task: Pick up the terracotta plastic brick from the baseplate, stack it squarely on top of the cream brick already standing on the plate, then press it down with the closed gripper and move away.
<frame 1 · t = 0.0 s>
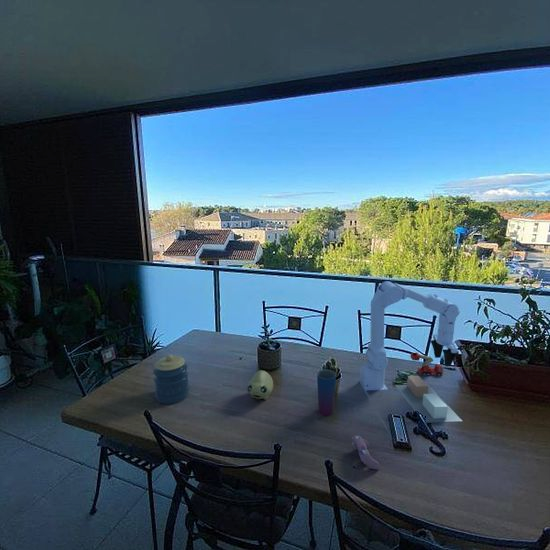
hand: (442, 361, 135), 10 cm above the table, tool pointing down, fingers open, 7 cm apart
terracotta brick: (416, 391, 130), point 1 cm above the table, touching baseplate
cup: (325, 412, 119), on the table
canister: (172, 395, 130), on the table
toy fire truck: (425, 374, 145), on the table
pink curved figurine: (364, 459, 97), on the table
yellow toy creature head: (260, 398, 128), on the table
baseplate: (425, 402, 124), on the table
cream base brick: (433, 411, 118), point 1 cm above the table, touching baseplate
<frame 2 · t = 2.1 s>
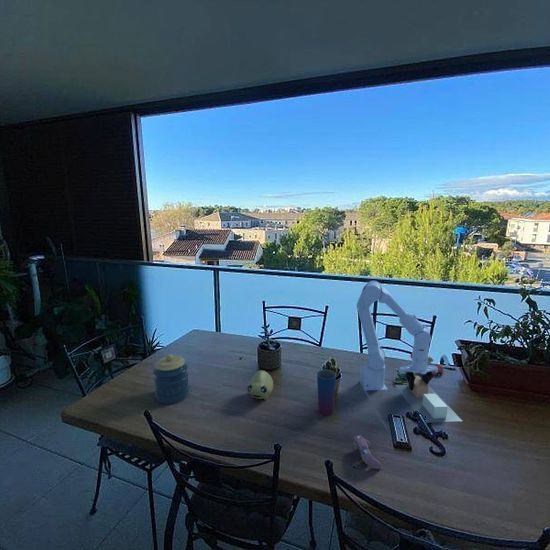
hand: (417, 388, 130), 2 cm above the table, tool pointing down, fingers closed on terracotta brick, 4 cm apart
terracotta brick: (416, 391, 130), point 1 cm above the table, touching baseplate, gripper
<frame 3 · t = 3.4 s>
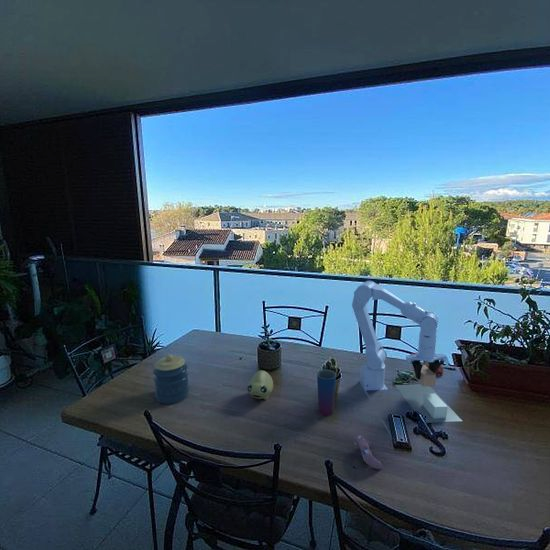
hand: (424, 377, 125), 9 cm above the table, tool pointing down, fingers closed on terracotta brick, 4 cm apart
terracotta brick: (423, 380, 125), point 8 cm above the table, touching gripper
everything else where it was.
when the fingers open (7 cm above the table, at t = 4.7 s): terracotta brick stays where it is, resting on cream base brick.
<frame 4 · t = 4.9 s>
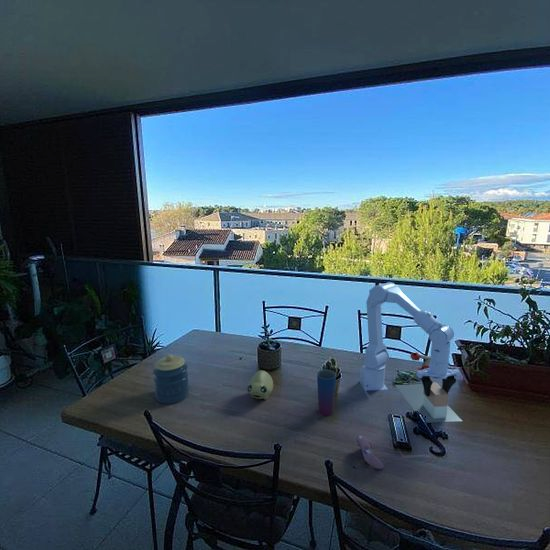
hand: (435, 394, 116), 7 cm above the table, tool pointing down, fingers open, 6 cm apart
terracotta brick: (434, 399, 117), point 5 cm above the table, touching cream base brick
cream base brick: (433, 411, 118), point 1 cm above the table, touching baseplate, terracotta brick
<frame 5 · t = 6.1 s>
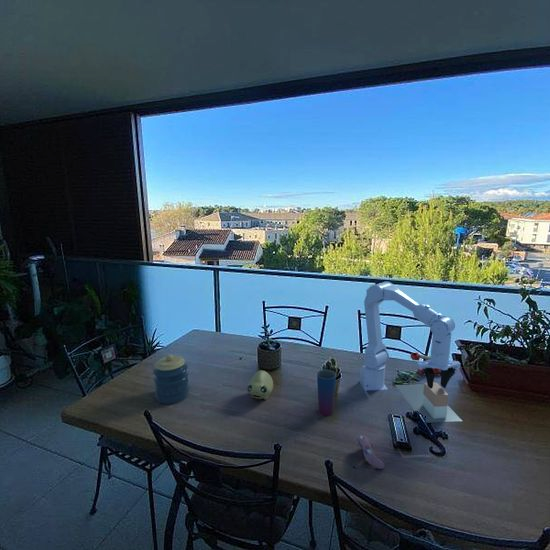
hand: (436, 386, 116), 10 cm above the table, tool pointing down, fingers open, 4 cm apart
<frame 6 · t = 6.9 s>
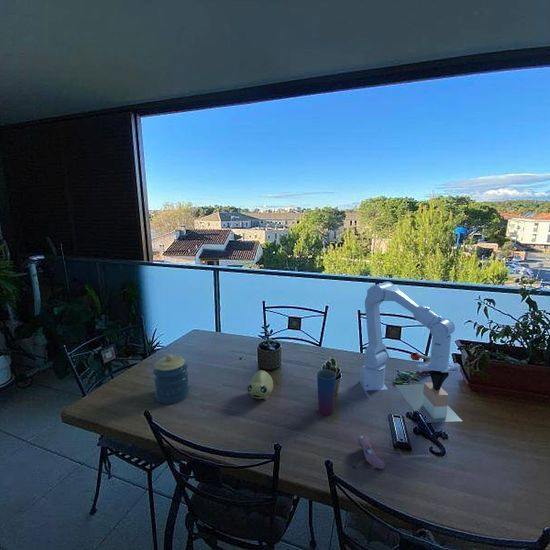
hand: (436, 388, 116), 10 cm above the table, tool pointing down, fingers closed, pressing on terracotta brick
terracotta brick: (434, 399, 117), point 5 cm above the table, touching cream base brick, gripper
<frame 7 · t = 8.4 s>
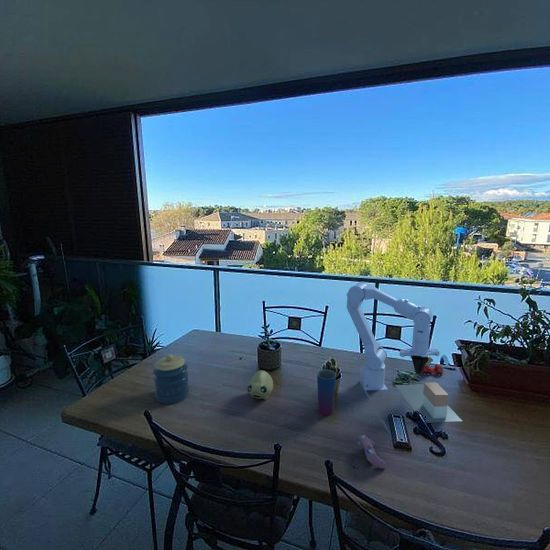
hand: (417, 372, 125), 10 cm above the table, tool pointing down, fingers closed
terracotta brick: (434, 399, 117), point 5 cm above the table, touching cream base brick
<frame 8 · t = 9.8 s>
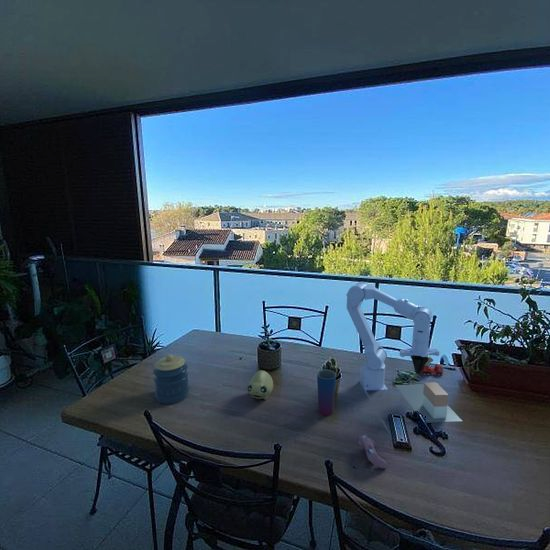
hand: (417, 372, 125), 10 cm above the table, tool pointing down, fingers closed
at the end: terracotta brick 0.2 cm off-centre on the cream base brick, point 4.5 cm above the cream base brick's base; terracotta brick tilted 0°; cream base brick tilted 0° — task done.
